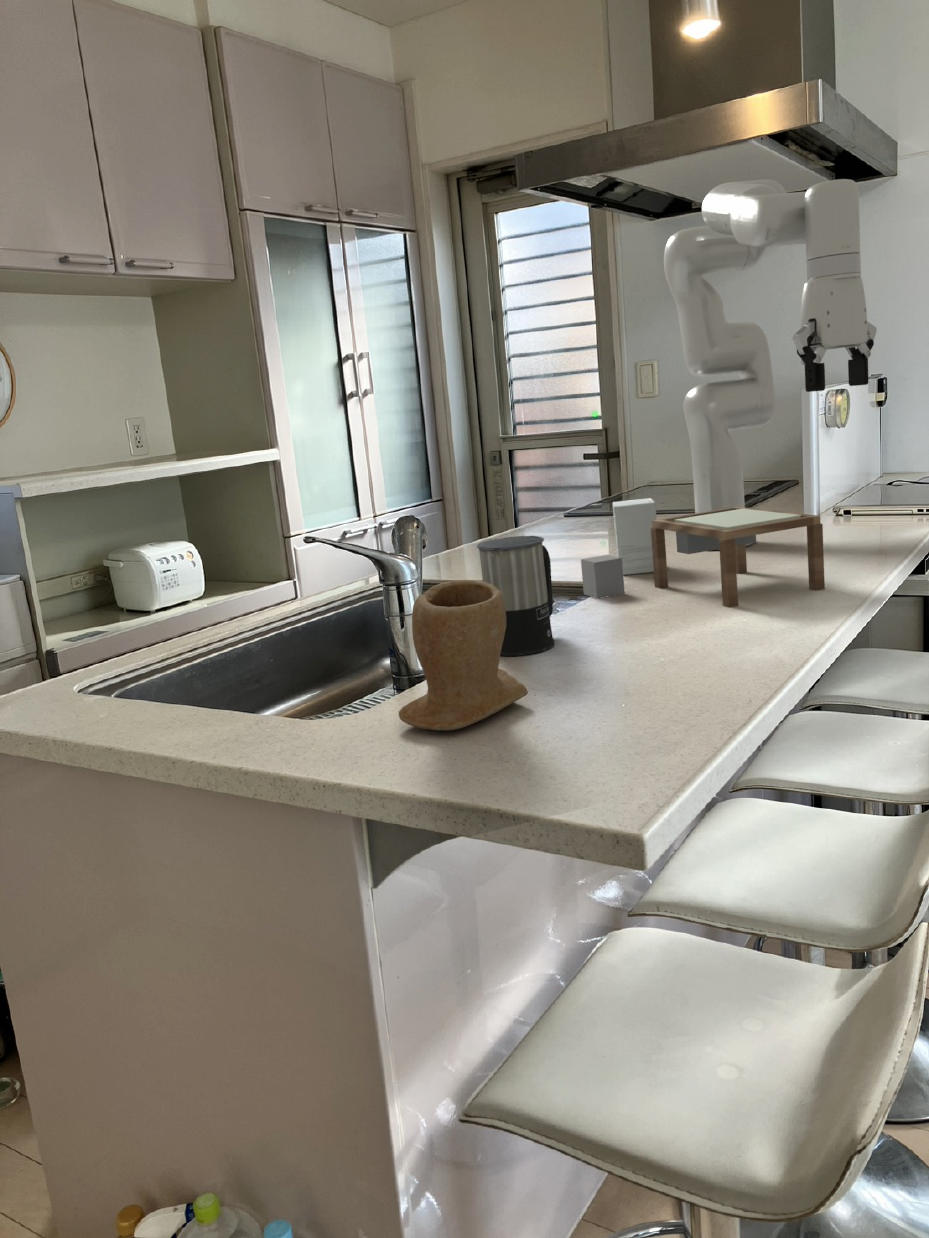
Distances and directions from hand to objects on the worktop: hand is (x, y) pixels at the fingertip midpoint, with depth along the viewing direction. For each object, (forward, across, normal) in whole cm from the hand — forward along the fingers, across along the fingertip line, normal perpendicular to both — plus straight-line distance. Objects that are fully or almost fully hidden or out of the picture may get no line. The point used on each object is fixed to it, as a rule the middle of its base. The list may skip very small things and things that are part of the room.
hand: (837, 388), depth 154 cm
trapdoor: (+23, +15, -8) cm, 29 cm away
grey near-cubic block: (+29, +28, -25) cm, 48 cm away
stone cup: (+30, +78, +14) cm, 84 cm away
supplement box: (+30, +12, -36) cm, 48 cm away
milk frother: (+30, +58, -11) cm, 66 cm away
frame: (+29, +14, -9) cm, 34 cm away
